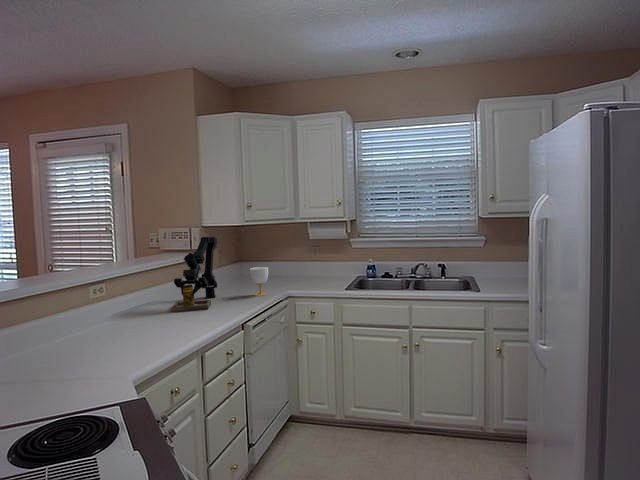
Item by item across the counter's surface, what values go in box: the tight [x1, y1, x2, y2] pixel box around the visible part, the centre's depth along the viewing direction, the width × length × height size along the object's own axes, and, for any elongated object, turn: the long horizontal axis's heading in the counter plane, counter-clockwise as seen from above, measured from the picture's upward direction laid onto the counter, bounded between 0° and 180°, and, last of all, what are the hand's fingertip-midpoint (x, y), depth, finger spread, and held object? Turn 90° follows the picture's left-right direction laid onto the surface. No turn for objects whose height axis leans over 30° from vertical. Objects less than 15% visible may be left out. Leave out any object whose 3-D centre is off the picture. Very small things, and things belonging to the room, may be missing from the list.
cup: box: [249, 266, 269, 297], centre depth 297 cm, size 12×12×17 cm
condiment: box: [180, 284, 197, 307], centre depth 266 cm, size 7×8×12 cm
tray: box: [170, 299, 212, 313], centre depth 267 cm, size 16×20×2 cm
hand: (187, 294), depth 264 cm, fingers closed on condiment, 6 cm apart
